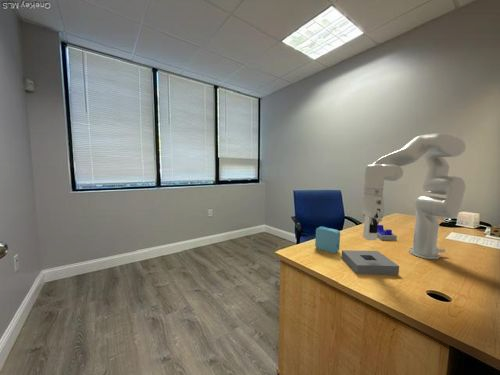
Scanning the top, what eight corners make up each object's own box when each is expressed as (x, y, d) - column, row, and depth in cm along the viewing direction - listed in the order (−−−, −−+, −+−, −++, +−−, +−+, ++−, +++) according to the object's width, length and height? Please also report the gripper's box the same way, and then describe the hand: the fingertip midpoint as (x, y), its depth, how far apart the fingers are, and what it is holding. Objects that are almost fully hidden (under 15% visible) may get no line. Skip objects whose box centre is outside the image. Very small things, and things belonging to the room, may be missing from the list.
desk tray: (380, 231, 151) (380, 227, 151) (396, 240, 133) (396, 235, 133) (366, 231, 151) (366, 227, 151) (381, 240, 134) (381, 235, 133)
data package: (339, 251, 115) (340, 230, 113) (335, 254, 112) (337, 232, 110) (318, 245, 123) (319, 225, 122) (314, 247, 120) (315, 227, 119)
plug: (371, 237, 100) (373, 212, 98) (376, 240, 96) (378, 214, 94) (363, 237, 100) (364, 212, 98) (367, 240, 96) (369, 214, 94)
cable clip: (374, 233, 148) (375, 224, 148) (381, 233, 148) (382, 224, 147) (383, 239, 136) (384, 230, 136) (391, 239, 136) (392, 230, 135)
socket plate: (377, 258, 107) (377, 250, 107) (398, 274, 91) (399, 266, 91) (341, 257, 107) (341, 250, 107) (356, 274, 91) (357, 265, 91)
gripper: (393, 194, 87) (390, 237, 89) (371, 190, 104) (368, 226, 106) (375, 194, 87) (372, 237, 89) (356, 189, 104) (353, 225, 106)
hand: (370, 230), depth 97 cm, fingers closed on plug, 4 cm apart
